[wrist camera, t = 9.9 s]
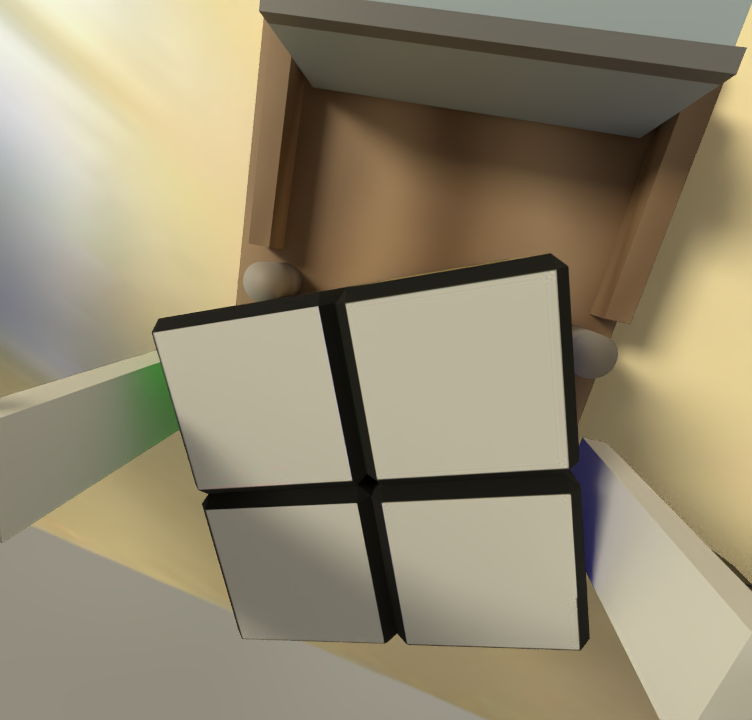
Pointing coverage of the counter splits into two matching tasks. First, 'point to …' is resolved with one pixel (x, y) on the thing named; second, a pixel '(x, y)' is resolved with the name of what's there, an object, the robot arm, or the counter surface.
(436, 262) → the base
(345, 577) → the puzzle cube
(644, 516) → the robot arm
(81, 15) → the counter surface
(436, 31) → the bar
